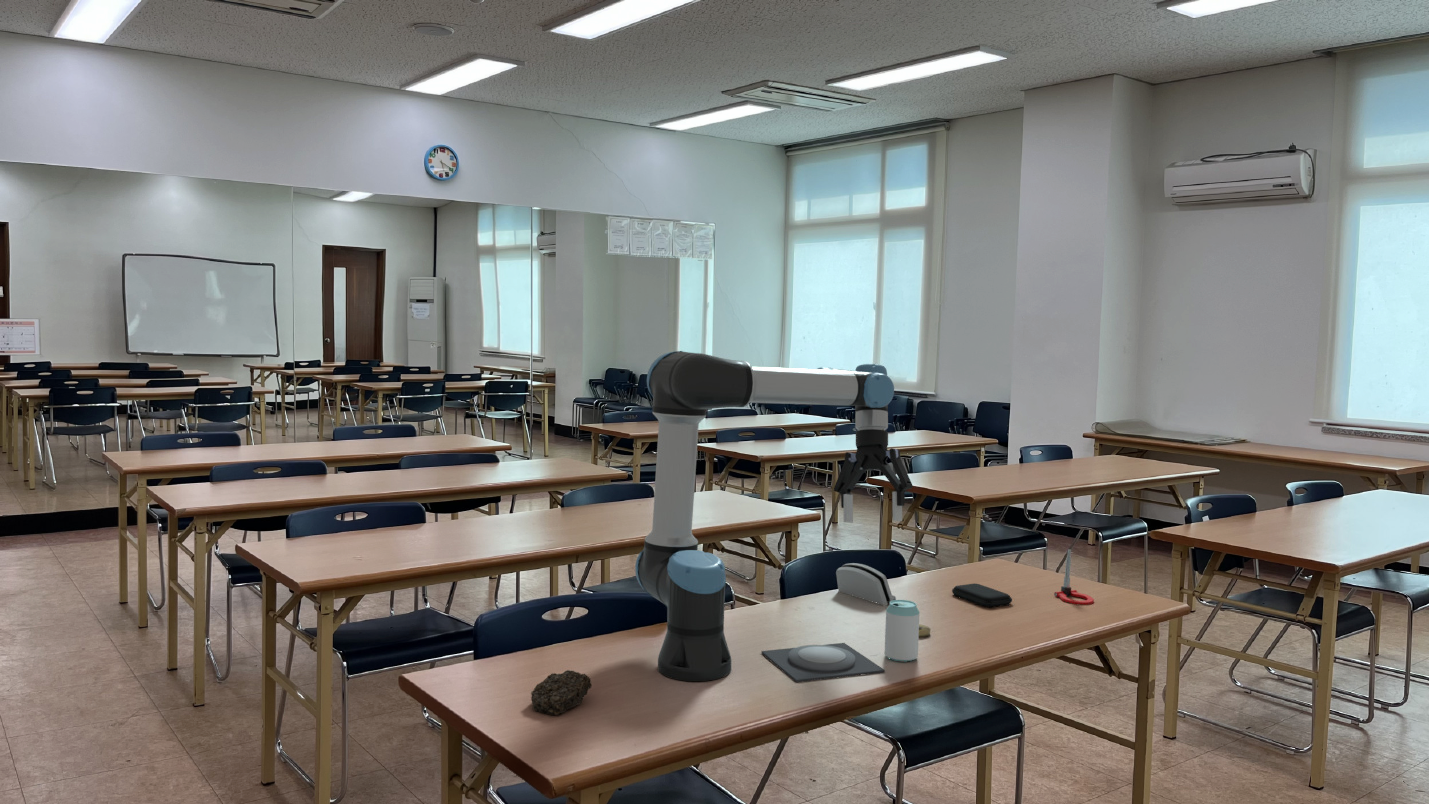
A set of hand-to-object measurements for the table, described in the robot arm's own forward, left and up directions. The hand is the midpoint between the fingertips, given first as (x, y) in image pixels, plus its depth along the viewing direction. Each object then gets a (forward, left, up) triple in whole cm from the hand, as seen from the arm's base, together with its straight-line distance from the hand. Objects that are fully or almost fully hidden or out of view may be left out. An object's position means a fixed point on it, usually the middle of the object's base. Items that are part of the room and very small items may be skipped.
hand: (872, 521), depth 227 cm
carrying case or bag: (+43, +17, -27) cm, 54 cm away
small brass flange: (+10, -3, -26) cm, 28 cm away
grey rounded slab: (+13, +27, -27) cm, 40 cm away
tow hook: (+67, +10, -27) cm, 73 cm away
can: (-2, -17, -26) cm, 32 cm away
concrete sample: (-77, -21, -27) cm, 84 cm away
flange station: (-20, -15, -26) cm, 36 cm away
